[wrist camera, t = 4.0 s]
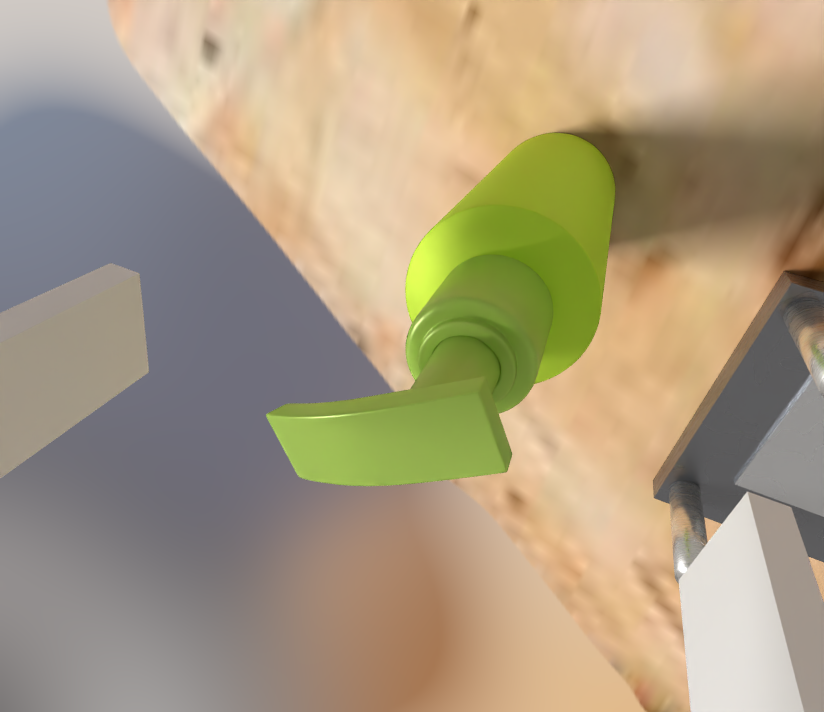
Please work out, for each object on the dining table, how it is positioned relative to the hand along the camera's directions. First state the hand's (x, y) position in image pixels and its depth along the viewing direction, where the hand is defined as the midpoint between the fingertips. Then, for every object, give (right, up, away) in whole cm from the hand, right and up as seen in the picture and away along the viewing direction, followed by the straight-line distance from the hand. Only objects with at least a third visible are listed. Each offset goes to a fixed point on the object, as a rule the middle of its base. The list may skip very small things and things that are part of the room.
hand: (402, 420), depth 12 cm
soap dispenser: (+7, +9, +16) cm, 19 cm away
